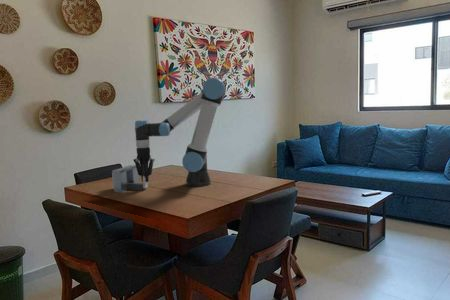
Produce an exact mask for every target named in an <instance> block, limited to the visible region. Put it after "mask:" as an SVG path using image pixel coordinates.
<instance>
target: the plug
mask: <svg viewBox="0 0 450 300" xmlns="http://www.w3.org/2000/svg"><path fill="white" fill-rule="evenodd" d="M111 175H112V178H113V172H111ZM112 187H113V188H112V189H113V190H114V182H113V181H112ZM128 190H130V191H145V190H147V187H146V188H143V182H139V183H127V191H128Z"/></svg>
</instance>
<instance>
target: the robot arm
mask: <svg viewBox="0 0 450 300" xmlns="http://www.w3.org/2000/svg"><path fill="white" fill-rule="evenodd" d="M226 91H227V88H226V83H225V82H224V81H223V80H222V79H221V78H218V77H210V78H207V79H206V80H205V81H204V83H203V85H202V89H201V90H200V93H198V95H196V96H195V97H193V98H192V99H190V100H189V101H187V103H185V104H184V105H183V106H182V107H180V108H179V109H177V110H176V111H175V112H174V113H171V115H169V116H168V117H167V118H166V119H164V120H163V121H161V122H157V123H156V122H155V123H154V122H153V123H150V122H149V120H147V119H143V120H142V119H139V120H135V122H134V131H135V133H134V134H135V144H136V145H135V147H136V157H135V158H134V159H133V162H134V164H135V165H136V168H137V172H138V176H139V177H140V178H141V183H143V188H146V189H147V188H148V187H149V181H150V180H149V179H150V178H149V176H151V175H152V172H153V167H154V162H155V158H152V156H151V148H150V137H169V136H170V134H171V131H174V129H176V128H177V127H179V126H180V125H181V124H182V123H184V122H185V121H186V120H188V119H189V118H190V117H192V116H193V115H194V114H196V113H197V112H198V111H199V113H198V117H197V121H196V124H195V128H194V132H193V134H192V139H191V142H190V143H189V144H188V145H187V147H186V149H185V153H184V155H183V157H182V163H181V164H182V166H183V168H184V170H186V171H187V175H186V180H185V185H186V186H188V187H204V186H209V185H211V183H212V180H211V177H210V175H209V172H208V156H207V153H208V150H207V143H208V140H209V136H210V133H211V130H212V127H213V123H214V119H215V116H216V113H217V109H218V107H220V106H221V104H222V102H223V98H224V96H225V94H226V93H227V92H226Z"/></svg>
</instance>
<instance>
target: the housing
mask: <svg viewBox="0 0 450 300" xmlns="http://www.w3.org/2000/svg"><path fill="white" fill-rule="evenodd" d="M111 173H113V177H112V183H113V182H114V189H113V190H114V191H113V193H118V194H119V193H121V194H122V193H124V192H127V191H128V190H127V183H140V178H139V177H140V175H138V172H137V168H136V165H133V164H131V165H127V166H123V167H119V168H116V169H113V170H111Z"/></svg>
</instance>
